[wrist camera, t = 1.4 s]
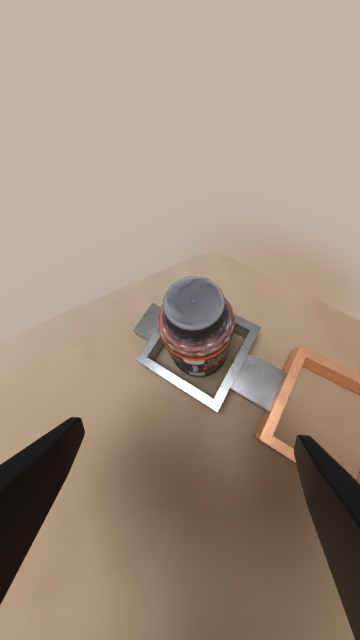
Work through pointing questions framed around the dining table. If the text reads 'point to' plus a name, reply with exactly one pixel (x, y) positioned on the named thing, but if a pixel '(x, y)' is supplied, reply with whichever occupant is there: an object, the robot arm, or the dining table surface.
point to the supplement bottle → (196, 325)
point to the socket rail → (249, 376)
